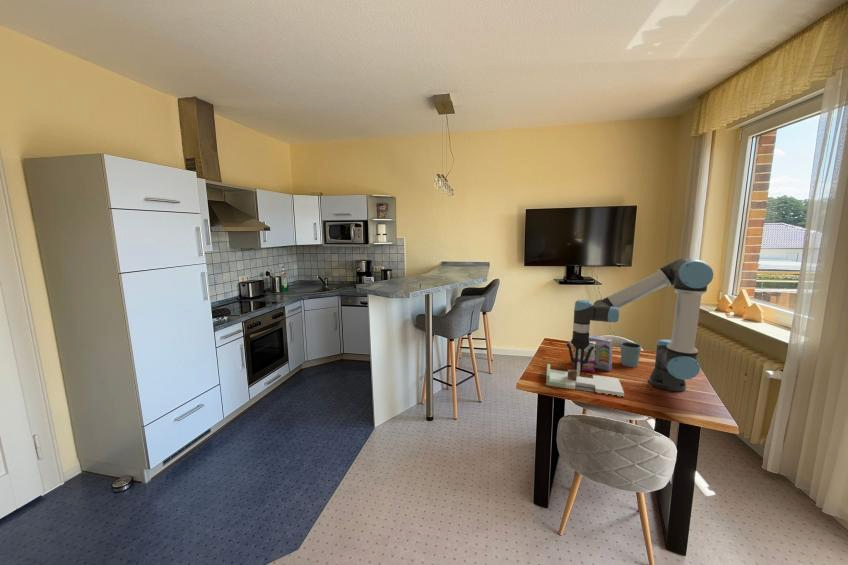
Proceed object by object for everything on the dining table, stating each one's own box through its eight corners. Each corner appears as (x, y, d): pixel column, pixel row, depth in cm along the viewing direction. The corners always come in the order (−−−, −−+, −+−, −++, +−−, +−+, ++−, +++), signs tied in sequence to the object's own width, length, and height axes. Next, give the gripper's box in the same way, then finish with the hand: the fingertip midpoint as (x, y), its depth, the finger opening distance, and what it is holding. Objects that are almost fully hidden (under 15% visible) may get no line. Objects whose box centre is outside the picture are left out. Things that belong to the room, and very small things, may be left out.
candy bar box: (594, 369, 191) (596, 341, 188) (594, 372, 186) (596, 344, 184) (573, 365, 196) (575, 338, 193) (572, 369, 192) (574, 341, 189)
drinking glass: (643, 367, 193) (645, 347, 191) (624, 367, 193) (626, 347, 191) (632, 361, 203) (634, 341, 201) (615, 360, 203) (617, 341, 201)
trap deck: (618, 382, 175) (619, 373, 174) (623, 396, 160) (624, 386, 159) (547, 372, 187) (547, 363, 186) (546, 385, 172) (546, 375, 171)
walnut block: (575, 377, 176) (576, 370, 175) (576, 380, 172) (576, 373, 172) (567, 376, 177) (568, 369, 177) (567, 379, 174) (568, 372, 173)
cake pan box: (573, 362, 201) (575, 333, 198) (577, 360, 205) (579, 331, 202) (608, 372, 187) (610, 341, 184) (611, 369, 190) (614, 339, 188)
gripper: (567, 331, 169) (564, 376, 173) (596, 334, 164) (592, 380, 168) (566, 327, 176) (564, 370, 179) (594, 330, 171) (591, 374, 175)
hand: (577, 375), depth 174 cm, fingers closed
